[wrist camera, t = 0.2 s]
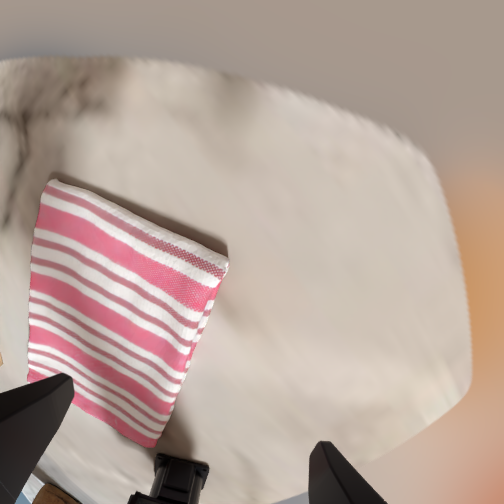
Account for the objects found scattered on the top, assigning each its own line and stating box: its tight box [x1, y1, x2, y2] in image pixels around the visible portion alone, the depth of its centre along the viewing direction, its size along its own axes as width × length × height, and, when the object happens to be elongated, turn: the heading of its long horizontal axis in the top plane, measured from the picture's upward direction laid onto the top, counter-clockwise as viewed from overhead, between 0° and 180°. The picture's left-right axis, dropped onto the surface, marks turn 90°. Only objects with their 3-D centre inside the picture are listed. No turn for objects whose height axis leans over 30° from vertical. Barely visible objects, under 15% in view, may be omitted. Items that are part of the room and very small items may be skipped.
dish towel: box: [27, 179, 229, 448], centre depth 22 cm, size 17×23×4 cm
